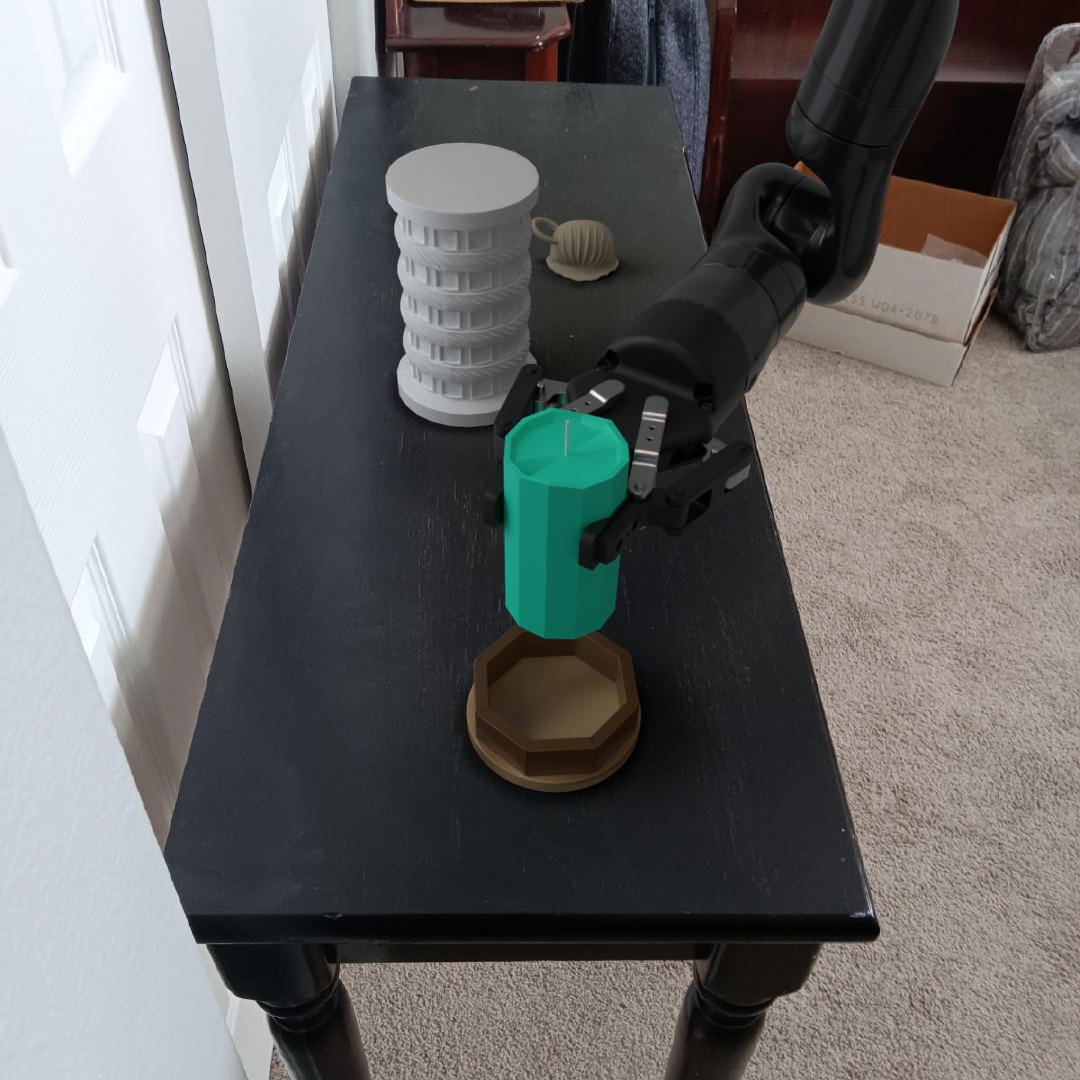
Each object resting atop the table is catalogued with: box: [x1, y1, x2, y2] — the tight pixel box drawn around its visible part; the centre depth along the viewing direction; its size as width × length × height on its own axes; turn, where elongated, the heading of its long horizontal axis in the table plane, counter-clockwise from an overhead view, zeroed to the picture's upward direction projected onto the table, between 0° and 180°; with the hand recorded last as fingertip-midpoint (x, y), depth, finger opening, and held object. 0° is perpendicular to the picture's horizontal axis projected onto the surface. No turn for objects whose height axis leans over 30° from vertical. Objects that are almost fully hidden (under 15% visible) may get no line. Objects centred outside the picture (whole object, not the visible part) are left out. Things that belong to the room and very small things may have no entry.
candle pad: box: [466, 622, 642, 793], centre depth 64 cm, size 10×10×4 cm
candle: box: [503, 407, 629, 639], centre depth 53 cm, size 6×6×12 cm
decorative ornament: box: [531, 216, 620, 283], centre depth 100 cm, size 4×8×5 cm, turn 88°
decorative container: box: [384, 142, 540, 428], centre depth 82 cm, size 12×12×18 cm
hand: (537, 533), depth 51 cm, fingers closed on candle, 4 cm apart
